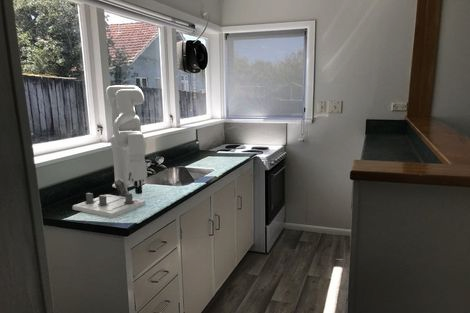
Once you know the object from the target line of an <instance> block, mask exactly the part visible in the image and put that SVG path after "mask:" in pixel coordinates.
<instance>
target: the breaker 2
mask: <svg viewBox="0 0 470 313" xmlns="http://www.w3.org/2000/svg"><path fill="white" fill-rule="evenodd" d="M105 195H106V194H100V195H98V197H99V204H98V205H101V206H105V205H108V204H109V203H107V202H106V196H105Z"/></svg>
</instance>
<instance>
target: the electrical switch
mask: <svg viewBox="0 0 470 313" xmlns="http://www.w3.org/2000/svg"><path fill="white" fill-rule="evenodd" d="M118 179H119V180H117V181H115V180H114V183H115V186H116V188H115V189H116V191H117V193H118V196H121V197H125V194H126V193H129V190H128V188H127V187H126V184H125V182H124V181H123V180H122V179H120V178H118ZM114 183H113V184H114Z"/></svg>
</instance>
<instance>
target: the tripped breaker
mask: <svg viewBox="0 0 470 313" xmlns="http://www.w3.org/2000/svg"><path fill="white" fill-rule="evenodd" d="M132 198H133V193H131V192H130V193H126V194H125V199H126V201H125V202H124V203H127V204H131V203H134V201H133V200H132Z"/></svg>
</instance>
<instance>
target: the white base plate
mask: <svg viewBox="0 0 470 313" xmlns="http://www.w3.org/2000/svg"><path fill="white" fill-rule="evenodd" d="M104 195H105V196H106V202H107V203H109V204H108V205H105V206H101V205H98V204H99V196H98V197H96V198H94V197H93V201H95V202H94V203H91V204H90V203H85V201H82V202H80V203H77V204H74V205H72V210H74V211H78V212H82V213H88V214H92V215H97V216H98V215H99V216H102V217H108V218H115V217H117V216H120V215H123V214H126V213H128V212H130V211H132V210H134V209H137V208H139V207H143V206H145V205H146V200H143V199H138V198H133V197H132V200H133V201H134V203H131V204H127V203H124V202H125V201H126V199H125V197H122V196H120V195H113V194H104Z"/></svg>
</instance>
